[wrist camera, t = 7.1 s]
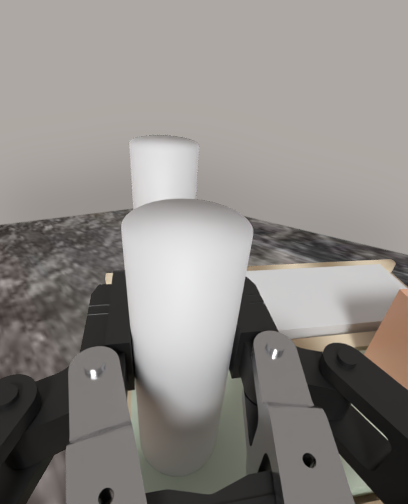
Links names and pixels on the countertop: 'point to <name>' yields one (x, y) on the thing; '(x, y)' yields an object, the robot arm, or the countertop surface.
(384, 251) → the countertop surface
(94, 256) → the countertop surface
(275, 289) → the strip
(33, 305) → the countertop surface
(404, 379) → the cube
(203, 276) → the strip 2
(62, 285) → the countertop surface
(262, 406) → the robot arm
